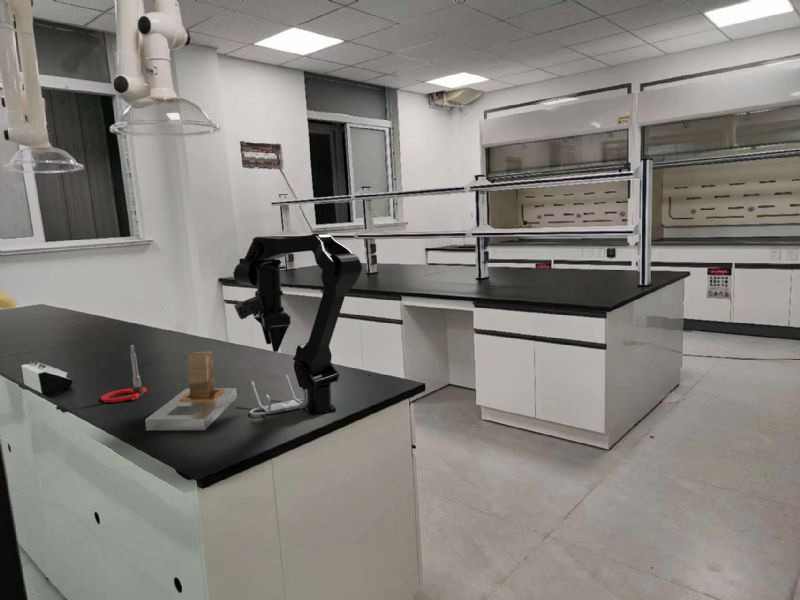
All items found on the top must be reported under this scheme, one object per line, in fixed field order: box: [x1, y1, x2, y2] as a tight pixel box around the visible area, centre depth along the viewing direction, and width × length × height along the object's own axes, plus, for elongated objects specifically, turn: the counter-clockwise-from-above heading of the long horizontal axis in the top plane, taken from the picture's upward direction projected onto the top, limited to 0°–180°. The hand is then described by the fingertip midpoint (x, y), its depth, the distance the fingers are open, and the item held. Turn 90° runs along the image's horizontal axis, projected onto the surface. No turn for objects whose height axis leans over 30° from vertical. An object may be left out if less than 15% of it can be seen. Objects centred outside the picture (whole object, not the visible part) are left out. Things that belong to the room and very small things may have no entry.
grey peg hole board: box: [144, 387, 238, 431], centre depth 131 cm, size 22×13×3 cm, turn 179°
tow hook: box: [100, 344, 147, 404], centre depth 143 cm, size 9×14×10 cm
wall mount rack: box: [249, 374, 308, 416], centre depth 134 cm, size 16×14×6 cm
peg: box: [187, 351, 216, 398], centre depth 136 cm, size 4×4×13 cm
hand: (272, 347), depth 140 cm, fingers open, 9 cm apart
